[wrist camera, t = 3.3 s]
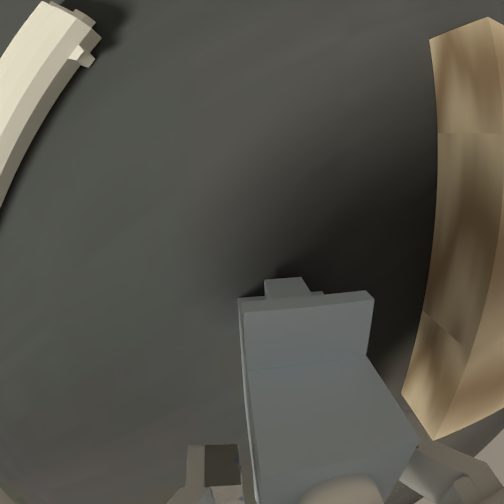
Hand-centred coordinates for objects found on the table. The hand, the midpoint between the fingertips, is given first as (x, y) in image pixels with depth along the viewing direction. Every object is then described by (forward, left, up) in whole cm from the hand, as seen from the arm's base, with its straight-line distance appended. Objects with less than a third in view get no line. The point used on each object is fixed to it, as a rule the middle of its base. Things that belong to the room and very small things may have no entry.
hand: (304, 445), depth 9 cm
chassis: (+5, -15, -5) cm, 17 cm away
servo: (0, 0, -5) cm, 5 cm away
